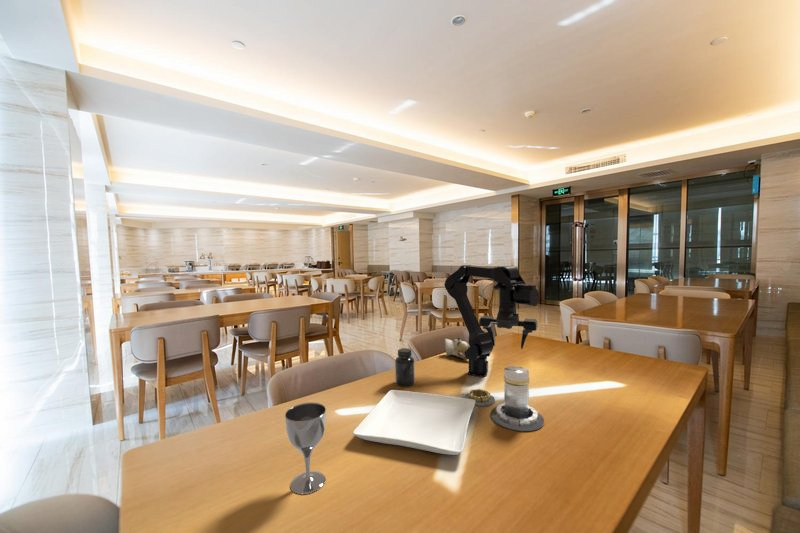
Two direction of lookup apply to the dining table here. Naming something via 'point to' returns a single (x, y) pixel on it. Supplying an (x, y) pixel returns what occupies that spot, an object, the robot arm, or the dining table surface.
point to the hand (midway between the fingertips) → (507, 347)
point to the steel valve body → (516, 392)
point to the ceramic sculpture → (456, 347)
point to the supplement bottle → (404, 368)
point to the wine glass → (306, 442)
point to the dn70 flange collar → (517, 420)
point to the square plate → (419, 421)
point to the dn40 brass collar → (481, 397)
